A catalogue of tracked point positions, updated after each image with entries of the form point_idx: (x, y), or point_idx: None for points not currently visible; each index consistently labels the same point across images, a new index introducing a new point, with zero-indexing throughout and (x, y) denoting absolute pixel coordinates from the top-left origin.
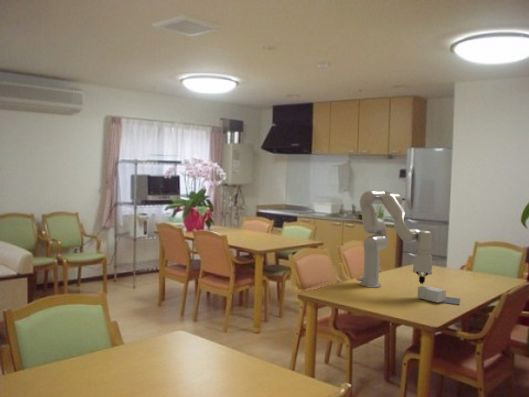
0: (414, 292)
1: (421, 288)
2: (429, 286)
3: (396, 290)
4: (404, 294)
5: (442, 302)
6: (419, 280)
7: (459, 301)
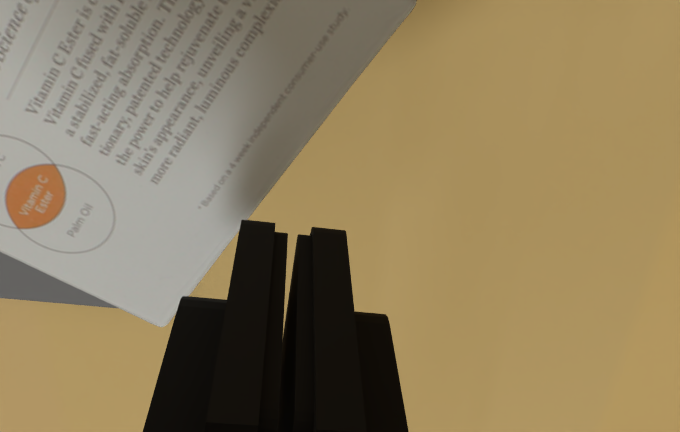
0: None
1: None
2: (39, 243)
3: (663, 378)
4: (592, 189)
5: None
6: (375, 340)
7: None
